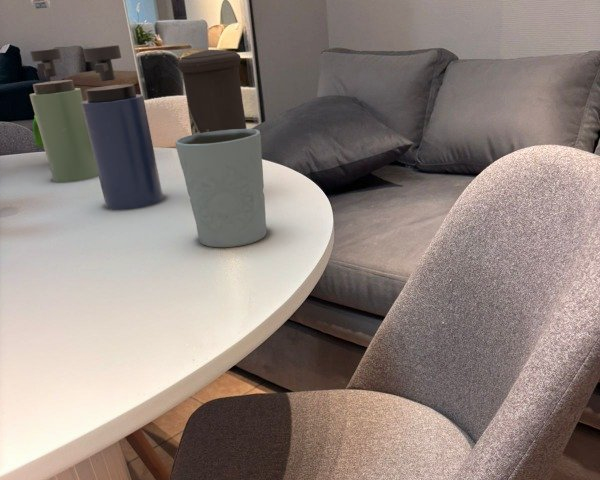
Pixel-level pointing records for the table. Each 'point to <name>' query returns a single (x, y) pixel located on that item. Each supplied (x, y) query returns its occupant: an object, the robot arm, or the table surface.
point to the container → (213, 91)
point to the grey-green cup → (225, 185)
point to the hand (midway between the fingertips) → (40, 5)
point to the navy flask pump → (103, 60)
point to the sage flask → (64, 130)
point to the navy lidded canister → (122, 146)
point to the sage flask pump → (46, 60)
